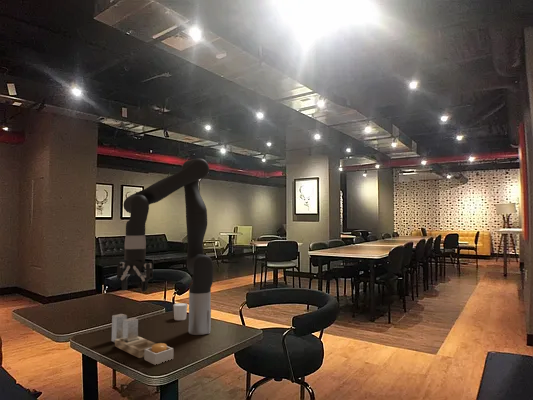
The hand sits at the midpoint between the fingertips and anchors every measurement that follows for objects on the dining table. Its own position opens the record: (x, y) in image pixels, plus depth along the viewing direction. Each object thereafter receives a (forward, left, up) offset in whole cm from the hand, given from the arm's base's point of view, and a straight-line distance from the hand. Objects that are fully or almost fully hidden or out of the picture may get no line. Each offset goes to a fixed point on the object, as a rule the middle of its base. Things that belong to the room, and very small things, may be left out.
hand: (134, 290), depth 132 cm
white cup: (-10, -41, -22) cm, 48 cm away
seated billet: (+2, -4, -22) cm, 22 cm away
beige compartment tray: (-1, 0, -22) cm, 22 cm away
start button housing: (-12, +10, -22) cm, 27 cm away
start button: (-12, +10, -19) cm, 25 cm away
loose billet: (+9, -10, -22) cm, 25 cm away
